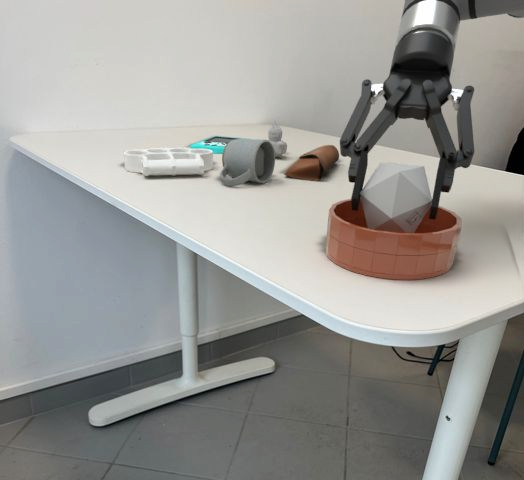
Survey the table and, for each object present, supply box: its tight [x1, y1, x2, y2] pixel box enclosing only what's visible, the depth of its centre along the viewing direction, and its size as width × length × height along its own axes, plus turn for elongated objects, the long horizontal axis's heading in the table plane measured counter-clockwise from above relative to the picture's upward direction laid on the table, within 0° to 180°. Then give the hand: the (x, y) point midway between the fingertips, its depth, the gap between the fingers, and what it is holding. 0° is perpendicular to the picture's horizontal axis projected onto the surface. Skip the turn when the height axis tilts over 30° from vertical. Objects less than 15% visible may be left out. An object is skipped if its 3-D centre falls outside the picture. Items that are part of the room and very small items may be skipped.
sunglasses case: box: [283, 144, 340, 182], centre depth 112 cm, size 18×7×7 cm
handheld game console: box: [189, 135, 245, 154], centre depth 133 cm, size 10×16×1 cm, turn 162°
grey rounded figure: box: [267, 120, 288, 158], centre depth 122 cm, size 5×7×8 cm
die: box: [360, 161, 433, 233], centre depth 66 cm, size 8×9×10 cm
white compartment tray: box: [123, 147, 214, 177], centre depth 109 cm, size 3×18×15 cm
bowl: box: [325, 198, 463, 281], centre depth 69 cm, size 16×16×6 cm
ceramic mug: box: [219, 138, 276, 187], centre depth 101 cm, size 11×8×8 cm
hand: (393, 208), depth 64 cm, fingers closed on die, 8 cm apart
